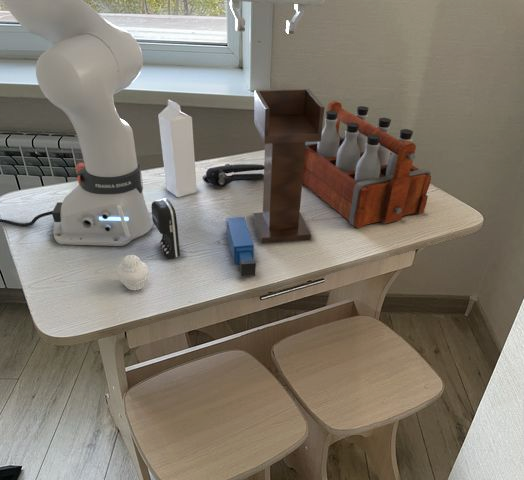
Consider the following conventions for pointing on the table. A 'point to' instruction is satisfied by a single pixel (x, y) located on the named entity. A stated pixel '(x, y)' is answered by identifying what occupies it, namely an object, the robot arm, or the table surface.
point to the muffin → (132, 272)
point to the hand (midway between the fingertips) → (265, 31)
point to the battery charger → (166, 227)
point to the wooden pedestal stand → (285, 159)
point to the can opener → (220, 179)
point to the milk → (177, 150)
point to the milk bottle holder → (365, 169)
